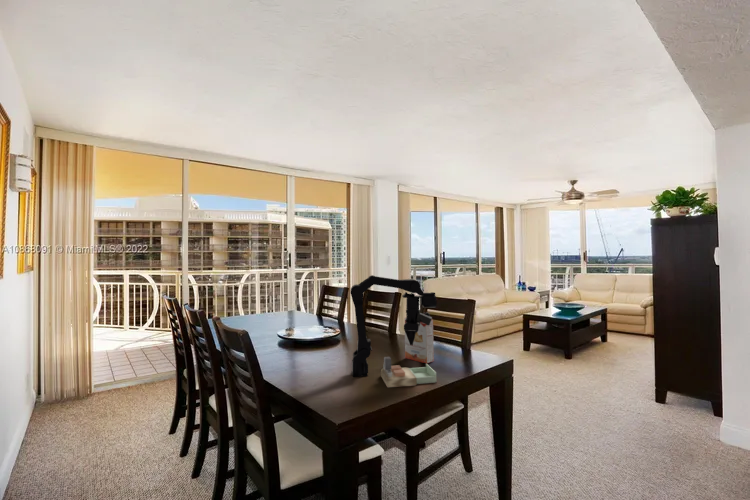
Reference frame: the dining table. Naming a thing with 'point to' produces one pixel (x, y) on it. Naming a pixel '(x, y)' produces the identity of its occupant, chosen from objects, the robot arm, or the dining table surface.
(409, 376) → the board
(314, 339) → the dining table surface
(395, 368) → the tile
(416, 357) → the cracker box
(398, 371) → the tile
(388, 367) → the scraper
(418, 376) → the tray
